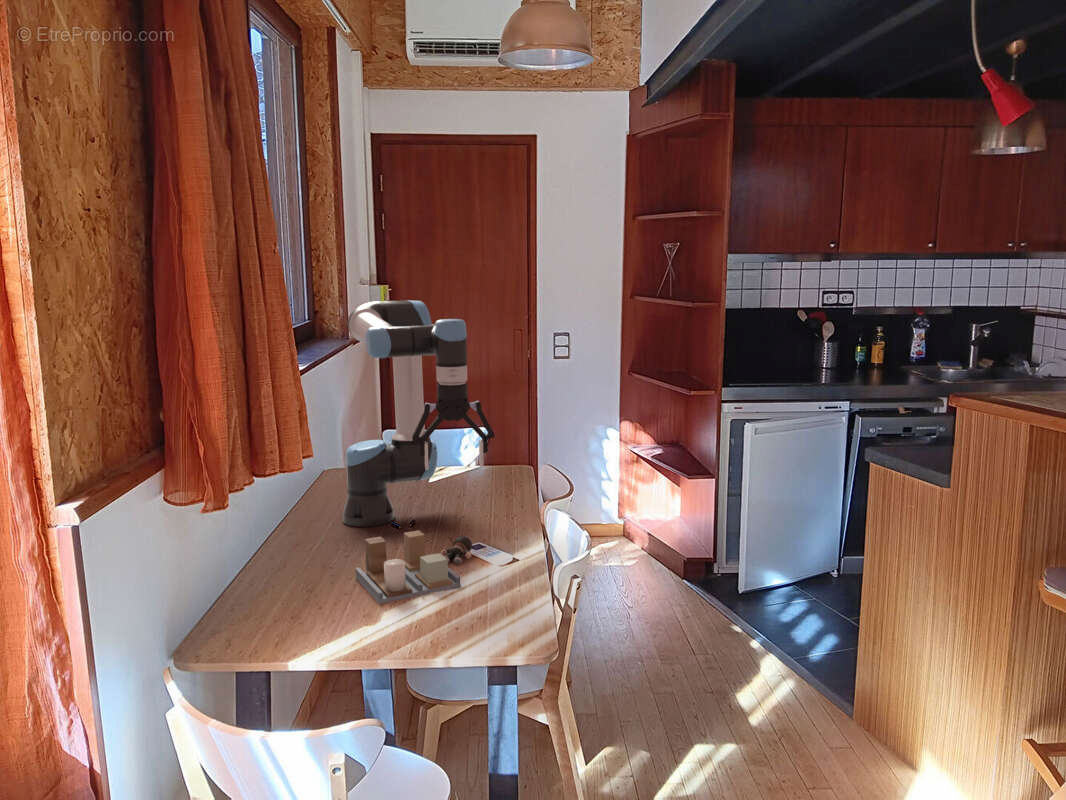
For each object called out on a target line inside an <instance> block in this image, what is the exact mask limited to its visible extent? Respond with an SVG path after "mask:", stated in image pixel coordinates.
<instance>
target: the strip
mask: <svg viewBox="0 0 1066 800" xmlns="http://www.w3.org/2000/svg"><path fill="white" fill-rule="evenodd" d="M364 547H365V549H364V552H365V570H366V571H365V572H366V575H367V576H368V577H369V578H370V579H371V580H372V582H373V583H374V584H375V585H376V586H377V587H378V588H379V589H380V590H381V591H382V592H383V594H384V595H385V596H386V597H387V598H389V597H394V596H399V595H403V594H408V593H412V589H411V588H410V587H409V586H408V585H407V584H406V588H405V589H403V590H401V591H395V592H392V591H387V590H386V589H385V578H384V562H385V561H387V560H388V559H387V557H388V556H387V541H386V539H384V538H383V537H382V536H376V537H370V538H365V539H364Z"/></svg>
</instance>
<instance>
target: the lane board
mask: <svg viewBox="0 0 1066 800" xmlns="http://www.w3.org/2000/svg"><path fill="white" fill-rule="evenodd" d="M425 539H426V538H425V534H424V533H423V532H422V531H420V530H419V529H418V530H413V531H408V532H403V546H404V547H403V550H404V561H405V575H406V584H407V585H408V586H409V587H410V588H411V589H412V593H408V594H403V595H399V596H394V597H389V598H387V597H386V596H385V595H384V594H383V592H382V591H381V590H380V589H379V588H378V587H377V586H376V585H375V584H374V583H373V582H372V580H371V579H370V578H369V577H368V576H367V575H366V572H367V571H365V572H364V571H363V570H362V568H361V567H355V570H354V572H355V578H356V580H357V581H358V582H359V583H360V585H361V586H363V588H364V589H365V590H366V591H367V593H369V595H370V596H371V597H372V598H373V600H375V602H377V603H378V605H380V604H381V605H382V604H386V603H390V602H396V601H399V600H404V599H410V598H414V597H419V596H424V595H429V594H434V593H439V592H443V591H448V590H453V589H457V588H461V586H462V585H461V576H460V575H459V574H457V573H456V572H455V571H454V570H452V569H451V568H450V567H449V566H448V580H444V581H439V582H434V583H429V584H428V583H427V582H426V581H425V580H424V579H423V578H421V573H420V557H421V556H426V541H425ZM432 554H433V553H430V554H428V555H432Z"/></svg>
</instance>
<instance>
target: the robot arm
mask: <svg viewBox="0 0 1066 800" xmlns="http://www.w3.org/2000/svg"><path fill="white" fill-rule="evenodd" d="M347 328H348V332H349V333H350V335H351V336H352V337H353V338H354V340H357V341H358V342H360V343H365V348H366V352H367V355H368V356H369V358H372V359H375V358H376V359H386V358H392V369H393V370H392V371H393V372H392V373H393V389H394V390H393V391H394V392H393V393H394V413H395V433H394V434H393V435H391V443H390V444H387V443H386V442H385V440H383V439H369V440H364V441H359V442H357V443H354V444H352V445H350V446H349V447H348V448H347V449H346V453H345V462H344V463H345V466H346V483H347V484H346V486H347V490H346V491H347V496H346V499H345V500H346V501H345V504H344V508H343V511H342V522H343V523H344V524H345V525H347V526H352V527H358V528H359V527H360V528H363V527H365V528H367V527H375V526H382V525H385V524H388V523H391V522H392V521H393V520H394V519H395V510H394V507H393V504H392V501H391V499H390V497H389V494H388V485H389V484H395V483H403V482H412V481H413V482H415V481H416V482H420V481H423V480H428V479H431V478H432V477H433V476H434V474H435V472H436V469H437V465H438V464H437V463H438V450H437V449H438V448H437V443H436V442H435V440H433V439H431V435H432V434H433V433H434V432H435V430H436V429H437V428H438V426H439V425H440V424H442V422H443V421H447V422H451V421H460V420H464V421H465V422H466V423H467V424H468V425H469V426H470V428H472V430H473V431H474V432H475V433H476V434H477V435H478V436H479V437H480V438H479V439H478V447H479V448H478V453H479V454H478V456H479V457H478V459H479V460H478V461H479V467H480V468H485V467H484V466H485V465H484V462H485V461H484V454H488V450H489V447H488V441H489V440H490V439H493V438H495V435H496V434H495V433H494V430H493V429H492V428H491V426H490V422H488V420H487V418H486V416H485V414H484V413H483V410H482V404H481V402H480V400H475V401H472V402H469V388H468V384H467V381H468V356H467V355H468V353H467V352H468V349H467V347H468V346H467V344H468V342H467V338H468V332H467V324H466V321H465V320H463V319H459V318H446V319H445V318H443V319H438V320H436V321H435V323H432V318H431V315H430V311H429V309H428V307H427V305H426V304H425V303H424V302H423V301H421V300H411V299H410V300H409V299H408V300H389V301H388V300H384V301H383V300H382V301H381V300H380V301H377V300H376V301H370V302H366V303H363V304H361V305H359V306H357V307H356V308H354V309H353V310H352V312H351V313H350V314H349V316H348V319H347ZM422 356H435V361H436V362H435V363H436V365H435V371H436V372H435V374H436V382H437V385H436V403H429V402H428V401H427V402H425V403H424V382H423V381H424V380H423V377H424V375H423V358H422ZM470 408H472V409H473V411H475V412H476V413H477V415H478V417H479V419H480V420H481V422H482V425H483V426H484V428H485V430H486V432H487V433H485V432H484V431H483V430H482V429H481V428H480V427H479V425H478V424H476V422H475V421H474V420H473V419H472V418H471V417H470V416H469V415H468V411H469V410H470ZM434 409H435V410H436V411H437V413H438V414H437V416H436V417H435V418H434V420H433V421H432V422H431V424H430V425H429V426H428V427H427V429H426V427H425V426H426V425H425V424H426V422H427V420H428V418H429V416H430V413H432V412H433V411H434Z"/></svg>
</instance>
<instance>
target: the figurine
mask: <svg viewBox="0 0 1066 800" xmlns="http://www.w3.org/2000/svg"><path fill="white" fill-rule="evenodd" d="M472 548H473V543H472V540H471V539H470V538H469V537H468V536H465V535H460V536H458V537H456V538H455V540H454V541H453V543H452V546H451V547H448V548H445V549H441V552H440V554H441V555H443V556H444V557H445V558H446V559H448V564H449V563H450V562H452V561H453V562H454V564H455V565H461V564H462V562H463V557H464V558H465V559H467V560H470V559H471V558H472V553H471V550H472Z"/></svg>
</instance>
